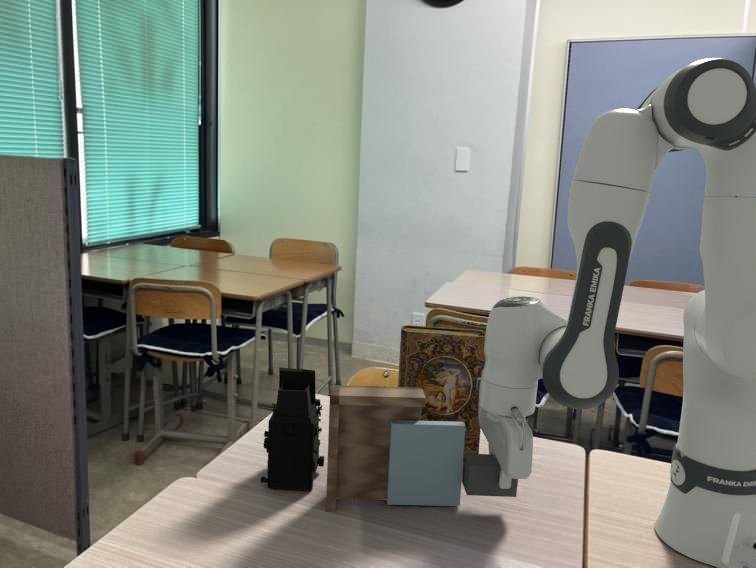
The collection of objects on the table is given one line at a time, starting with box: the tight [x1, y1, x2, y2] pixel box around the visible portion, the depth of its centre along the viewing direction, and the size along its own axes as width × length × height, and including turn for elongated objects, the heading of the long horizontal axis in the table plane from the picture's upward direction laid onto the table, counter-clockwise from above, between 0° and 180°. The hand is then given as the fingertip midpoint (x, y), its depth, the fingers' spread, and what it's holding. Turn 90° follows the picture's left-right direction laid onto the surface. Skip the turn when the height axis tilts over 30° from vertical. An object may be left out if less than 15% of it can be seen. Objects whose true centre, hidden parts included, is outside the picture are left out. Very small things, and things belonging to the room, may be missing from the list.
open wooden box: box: [325, 384, 426, 512], centre depth 98 cm, size 15×5×20 cm, turn 93°
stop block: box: [461, 453, 519, 498], centre depth 98 cm, size 8×4×5 cm, turn 93°
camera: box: [260, 367, 325, 492], centre depth 107 cm, size 10×14×20 cm
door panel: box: [386, 420, 465, 507], centre depth 99 cm, size 12×2×14 cm, turn 93°
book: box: [397, 324, 485, 462], centre depth 118 cm, size 16×6×25 cm, turn 84°
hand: (499, 477), depth 98 cm, fingers closed on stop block, 4 cm apart
